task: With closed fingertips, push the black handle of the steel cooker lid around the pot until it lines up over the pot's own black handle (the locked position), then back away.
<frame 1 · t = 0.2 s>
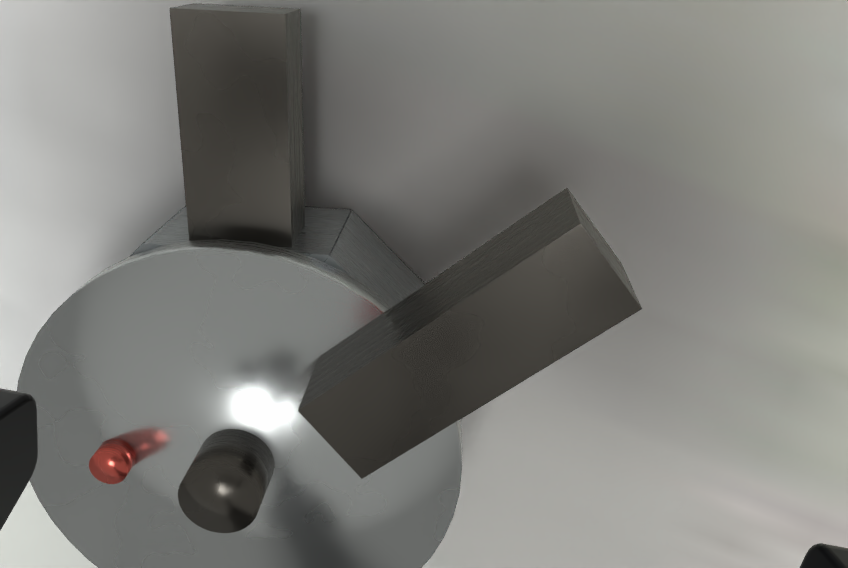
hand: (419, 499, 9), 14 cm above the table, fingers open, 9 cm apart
lid: (303, 431, 19), point 5 cm above the table, hinge at -50.0°
pot: (278, 374, 25), on the table
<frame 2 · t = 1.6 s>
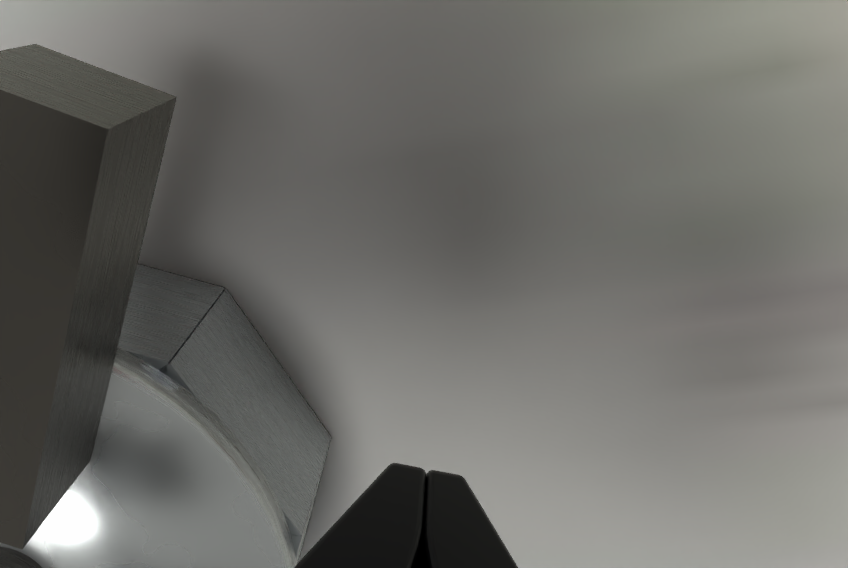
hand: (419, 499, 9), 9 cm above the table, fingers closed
lid: (0, 518, 14), point 5 cm above the table, hinge at -50.0°
pot: (103, 453, 20), on the table
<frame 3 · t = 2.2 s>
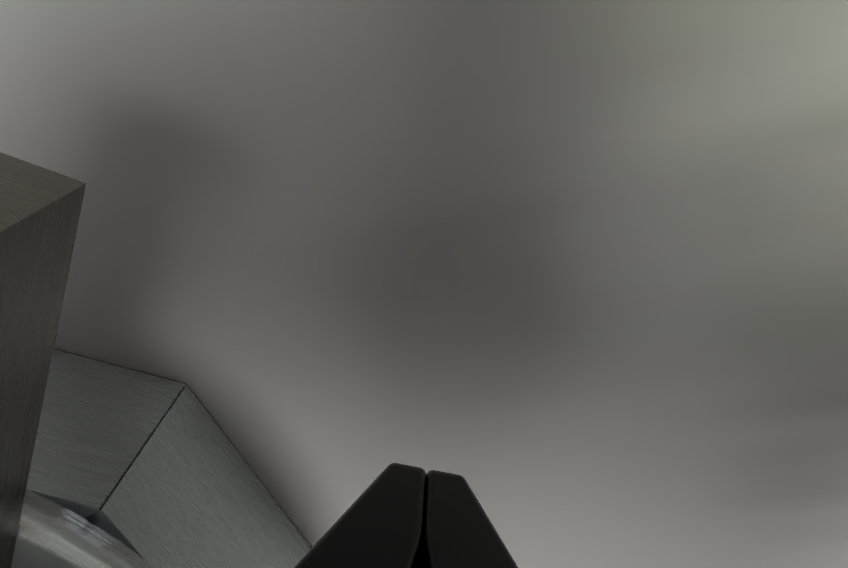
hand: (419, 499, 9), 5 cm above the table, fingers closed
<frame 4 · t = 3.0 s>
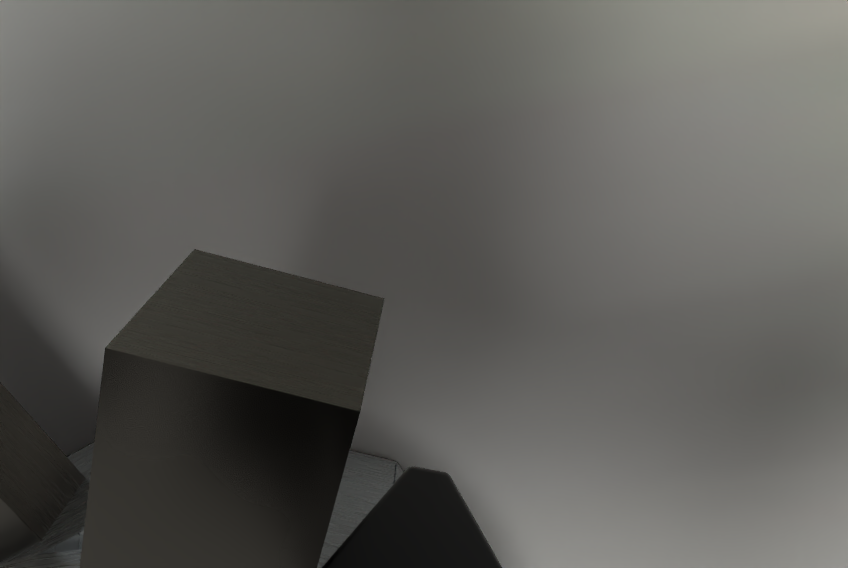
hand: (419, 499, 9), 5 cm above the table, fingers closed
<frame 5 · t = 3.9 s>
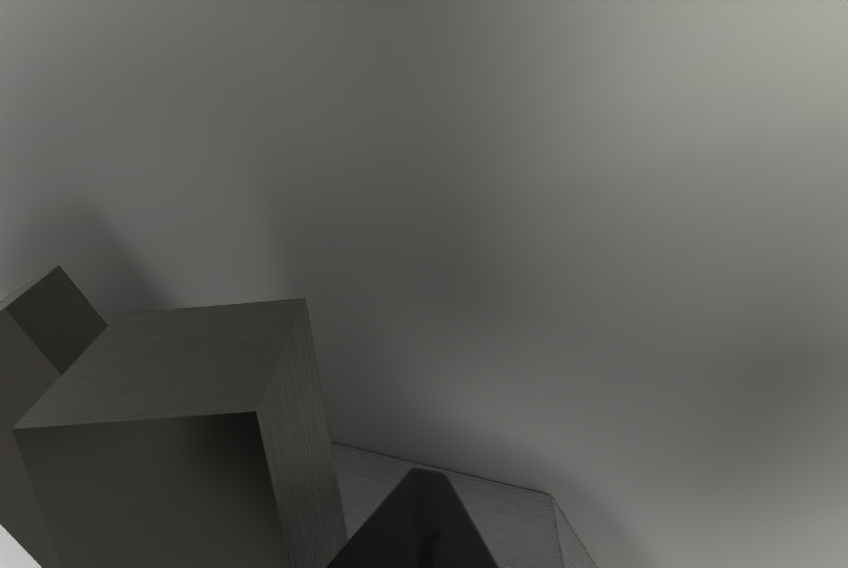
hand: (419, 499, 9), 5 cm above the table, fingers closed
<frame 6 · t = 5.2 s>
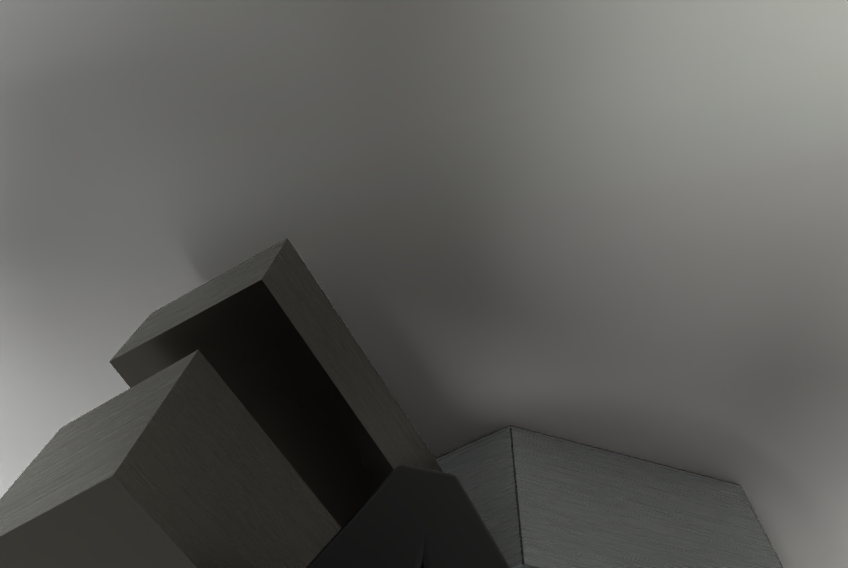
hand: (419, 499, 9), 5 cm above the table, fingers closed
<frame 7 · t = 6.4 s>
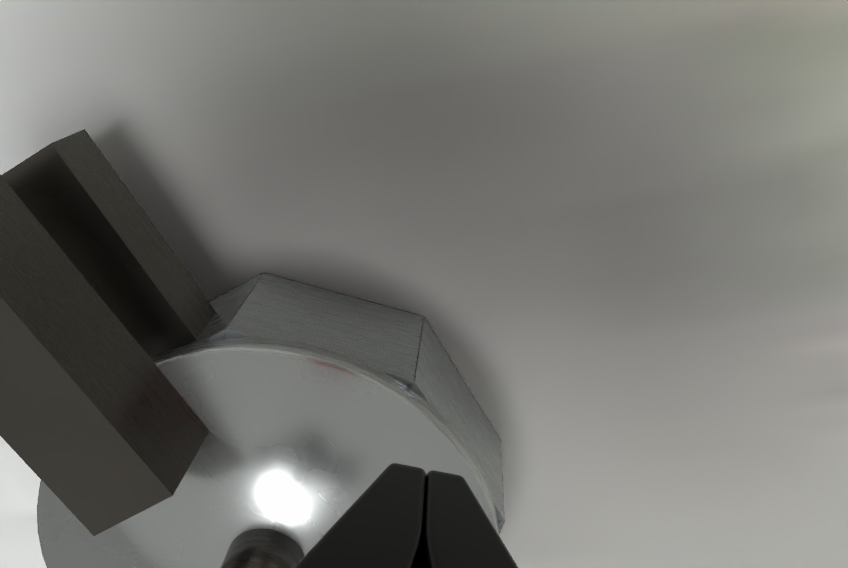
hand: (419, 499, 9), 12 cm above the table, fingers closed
lid: (194, 509, 18), point 5 cm above the table, hinge at 1.9°
pot: (303, 454, 24), on the table
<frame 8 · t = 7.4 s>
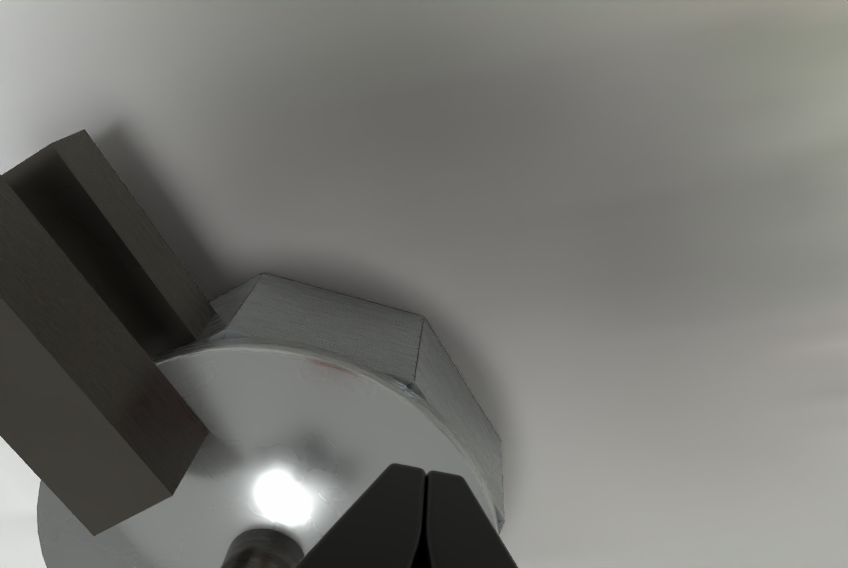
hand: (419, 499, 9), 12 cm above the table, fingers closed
lid: (194, 509, 18), point 5 cm above the table, hinge at 1.9°
pot: (303, 454, 24), on the table
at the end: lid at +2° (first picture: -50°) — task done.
